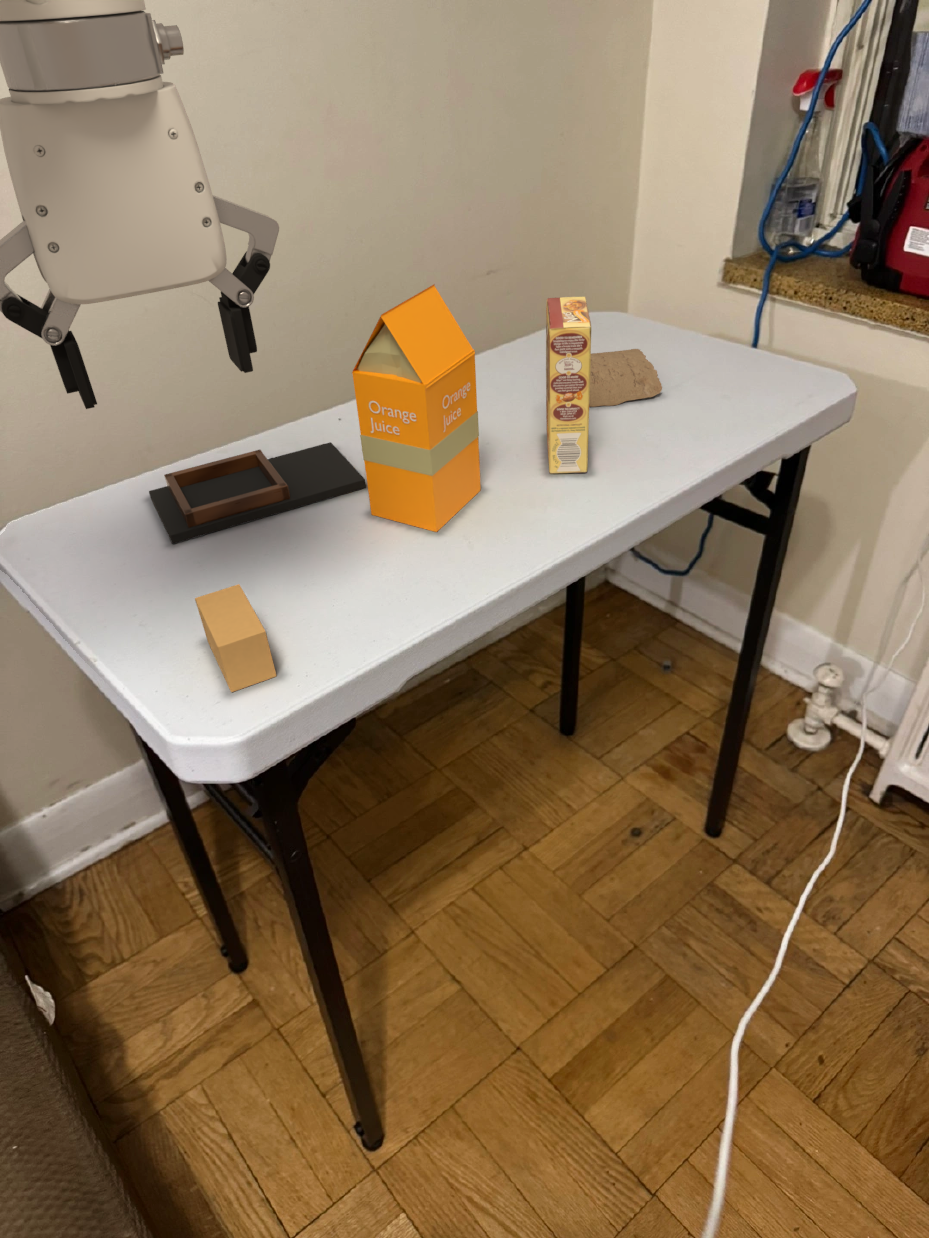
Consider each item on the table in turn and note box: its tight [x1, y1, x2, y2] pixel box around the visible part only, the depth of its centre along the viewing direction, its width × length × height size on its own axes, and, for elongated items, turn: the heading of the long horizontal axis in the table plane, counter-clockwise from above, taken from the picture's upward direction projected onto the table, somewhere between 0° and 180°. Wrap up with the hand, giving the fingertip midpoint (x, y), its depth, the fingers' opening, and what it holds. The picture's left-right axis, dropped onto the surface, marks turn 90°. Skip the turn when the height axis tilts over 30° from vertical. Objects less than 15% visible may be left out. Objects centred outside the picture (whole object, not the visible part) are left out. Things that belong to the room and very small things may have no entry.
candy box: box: [545, 296, 592, 474], centre depth 88 cm, size 9×4×15 cm, turn 178°
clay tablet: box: [589, 348, 663, 408], centre depth 107 cm, size 14×10×3 cm
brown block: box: [194, 583, 277, 693], centre depth 67 cm, size 4×7×4 cm, turn 28°
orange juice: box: [351, 283, 482, 533], centre depth 80 cm, size 8×9×20 cm
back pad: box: [148, 442, 367, 545], centre depth 88 cm, size 20×10×2 cm, turn 118°
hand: (167, 382), depth 54 cm, fingers open, 9 cm apart
